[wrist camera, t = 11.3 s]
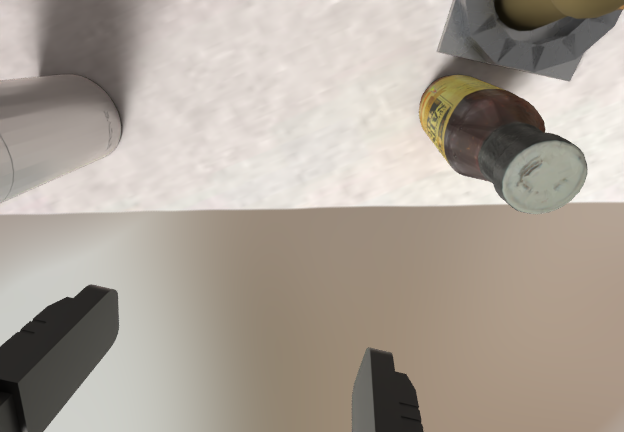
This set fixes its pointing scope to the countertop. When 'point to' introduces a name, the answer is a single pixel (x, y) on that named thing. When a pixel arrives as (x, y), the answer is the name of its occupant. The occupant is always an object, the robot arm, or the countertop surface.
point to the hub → (521, 39)
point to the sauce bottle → (501, 143)
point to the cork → (550, 11)
